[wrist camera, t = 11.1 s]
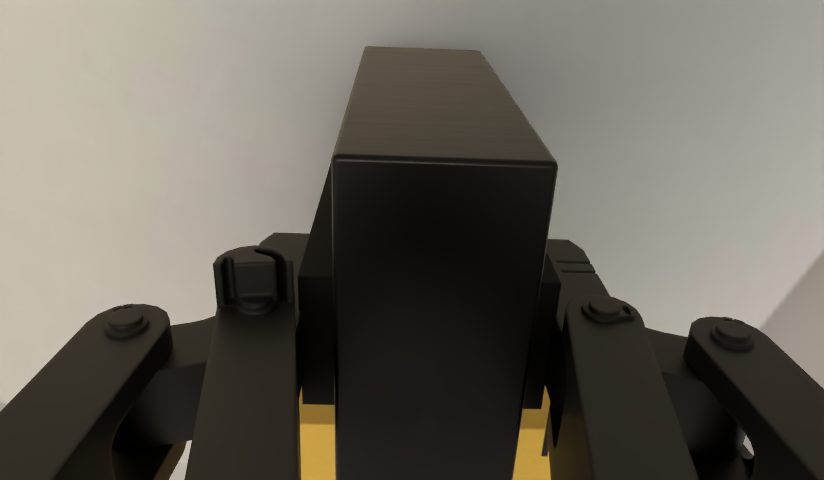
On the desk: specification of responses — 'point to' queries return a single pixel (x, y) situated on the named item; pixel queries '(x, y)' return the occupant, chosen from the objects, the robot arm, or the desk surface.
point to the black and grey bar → (434, 267)
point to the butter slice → (317, 441)
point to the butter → (533, 444)
